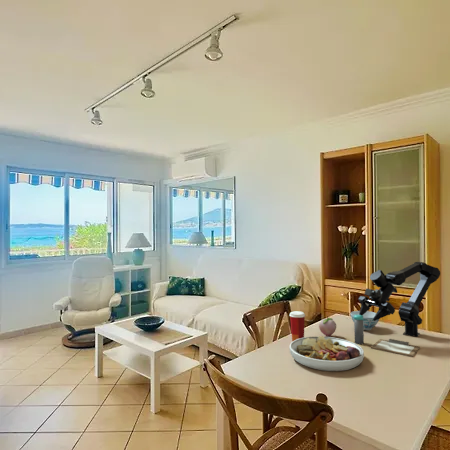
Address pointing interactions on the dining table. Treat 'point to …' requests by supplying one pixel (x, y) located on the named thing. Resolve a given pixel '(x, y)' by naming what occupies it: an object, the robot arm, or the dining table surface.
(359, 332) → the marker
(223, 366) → the dining table surface
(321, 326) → the decorative fruit
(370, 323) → the chinaware
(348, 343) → the bowl
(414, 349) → the clipboard
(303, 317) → the paper cup
